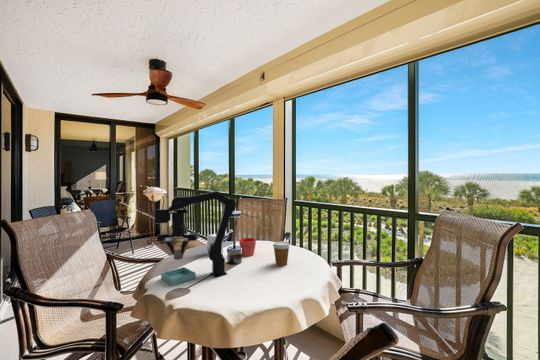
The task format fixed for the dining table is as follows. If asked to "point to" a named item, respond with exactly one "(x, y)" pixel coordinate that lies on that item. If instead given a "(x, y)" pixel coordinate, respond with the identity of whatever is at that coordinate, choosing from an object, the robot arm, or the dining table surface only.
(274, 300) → the dining table surface
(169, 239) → the robot arm
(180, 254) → the battery cell
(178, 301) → the dining table surface
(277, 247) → the disposable coffee cup
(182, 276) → the trough tray
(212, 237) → the supplement box
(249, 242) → the flower pot
